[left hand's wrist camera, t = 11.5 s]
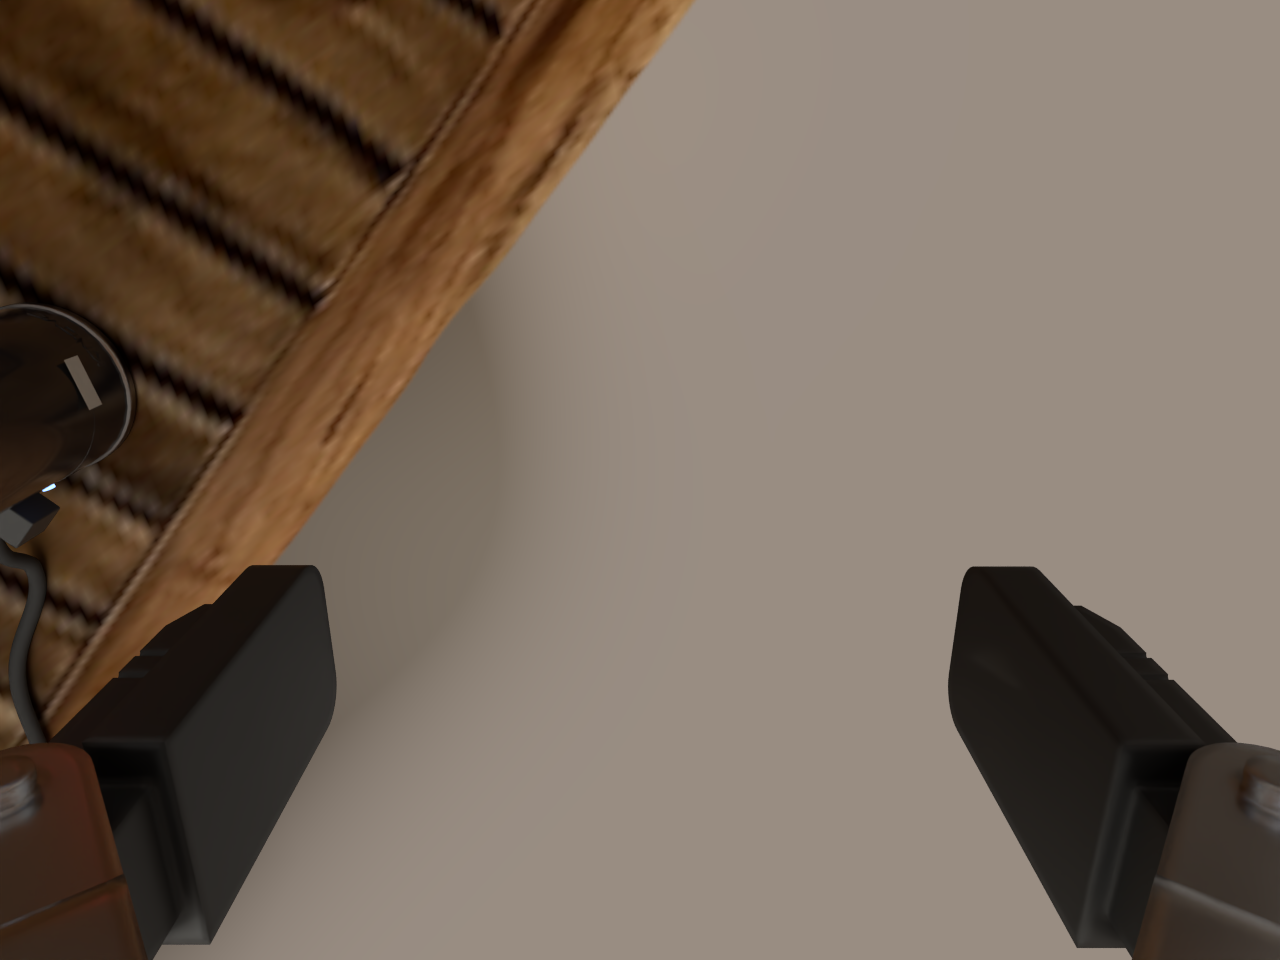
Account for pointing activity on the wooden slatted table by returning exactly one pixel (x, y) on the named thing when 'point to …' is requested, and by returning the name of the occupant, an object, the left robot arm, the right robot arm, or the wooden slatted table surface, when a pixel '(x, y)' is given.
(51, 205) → the wooden slatted table surface
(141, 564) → the wooden slatted table surface
